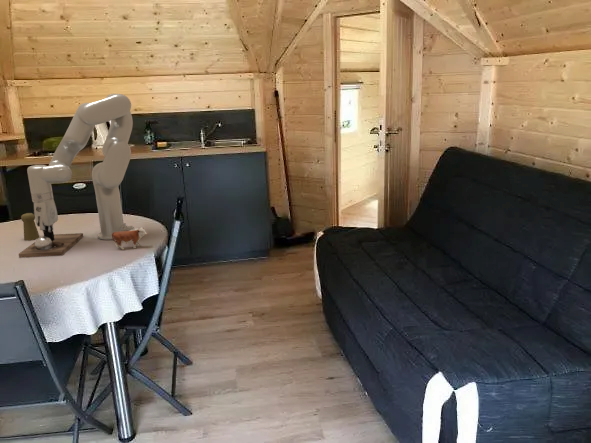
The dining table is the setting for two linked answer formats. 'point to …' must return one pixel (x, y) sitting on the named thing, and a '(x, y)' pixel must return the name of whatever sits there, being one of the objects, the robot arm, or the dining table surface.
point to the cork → (29, 227)
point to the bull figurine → (128, 237)
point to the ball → (43, 243)
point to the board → (61, 243)
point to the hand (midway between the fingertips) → (49, 240)
